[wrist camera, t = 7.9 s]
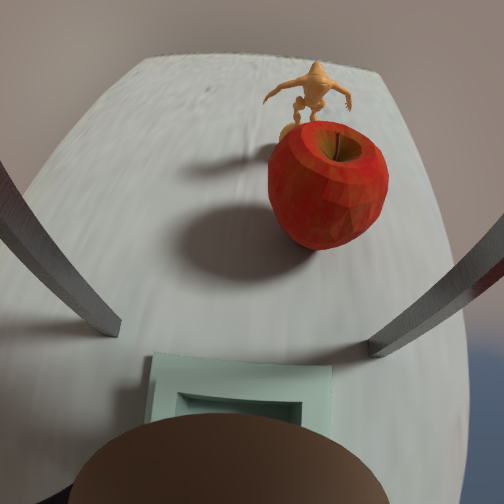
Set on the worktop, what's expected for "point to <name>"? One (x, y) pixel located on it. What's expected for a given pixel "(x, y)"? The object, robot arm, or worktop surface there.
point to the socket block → (240, 390)
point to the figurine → (310, 94)
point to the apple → (326, 184)
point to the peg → (224, 465)
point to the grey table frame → (108, 323)
